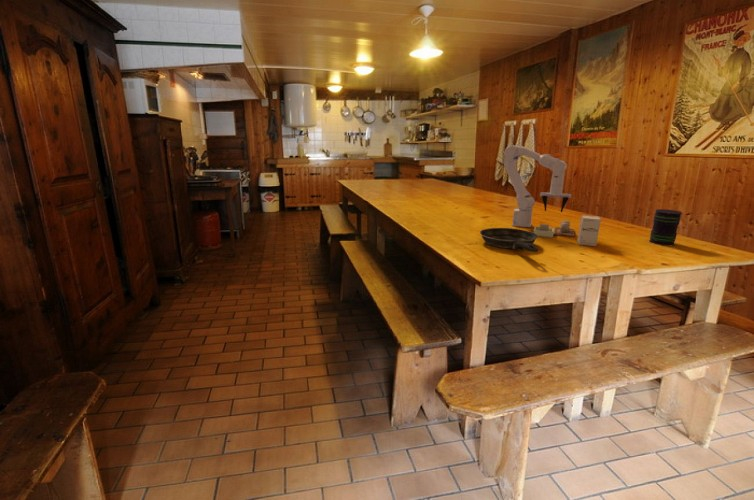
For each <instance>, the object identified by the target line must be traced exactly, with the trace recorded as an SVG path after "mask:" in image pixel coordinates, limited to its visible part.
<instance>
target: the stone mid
mask: <svg viewBox="0 0 754 500" xmlns="http://www.w3.org/2000/svg"><path fill="white" fill-rule="evenodd" d="M560 223H561V222H560ZM570 225H571V222H570V223H565V222H563V223H561V224H560V228H561V229H560V232H562V233H569V228H571V227H570Z"/></svg>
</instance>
